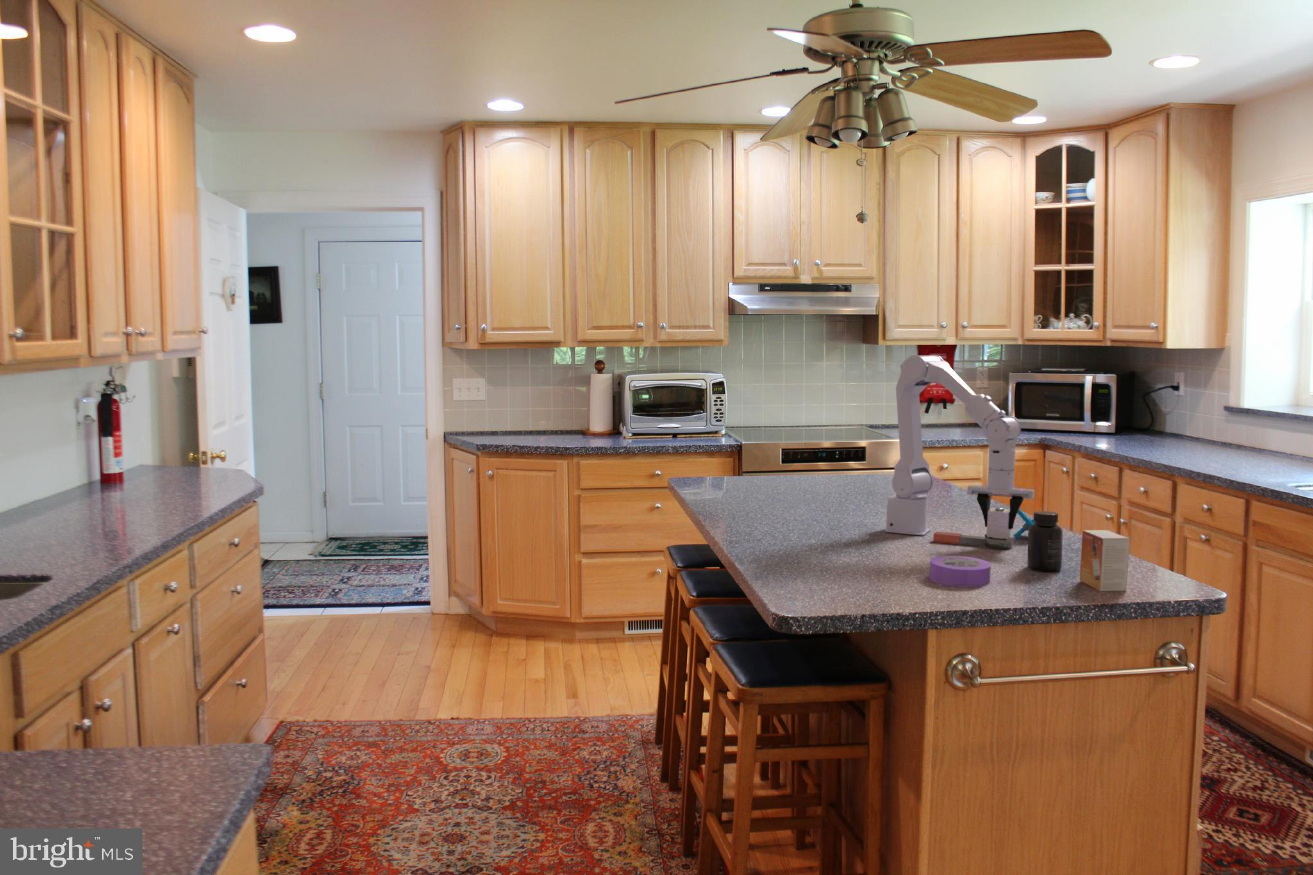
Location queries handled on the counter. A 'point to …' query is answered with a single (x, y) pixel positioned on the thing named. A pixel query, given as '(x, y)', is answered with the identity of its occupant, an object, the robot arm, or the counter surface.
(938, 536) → the ratchet
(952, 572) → the masking tape
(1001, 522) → the socket
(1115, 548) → the small box
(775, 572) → the counter surface
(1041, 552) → the supplement bottle
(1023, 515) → the gear
